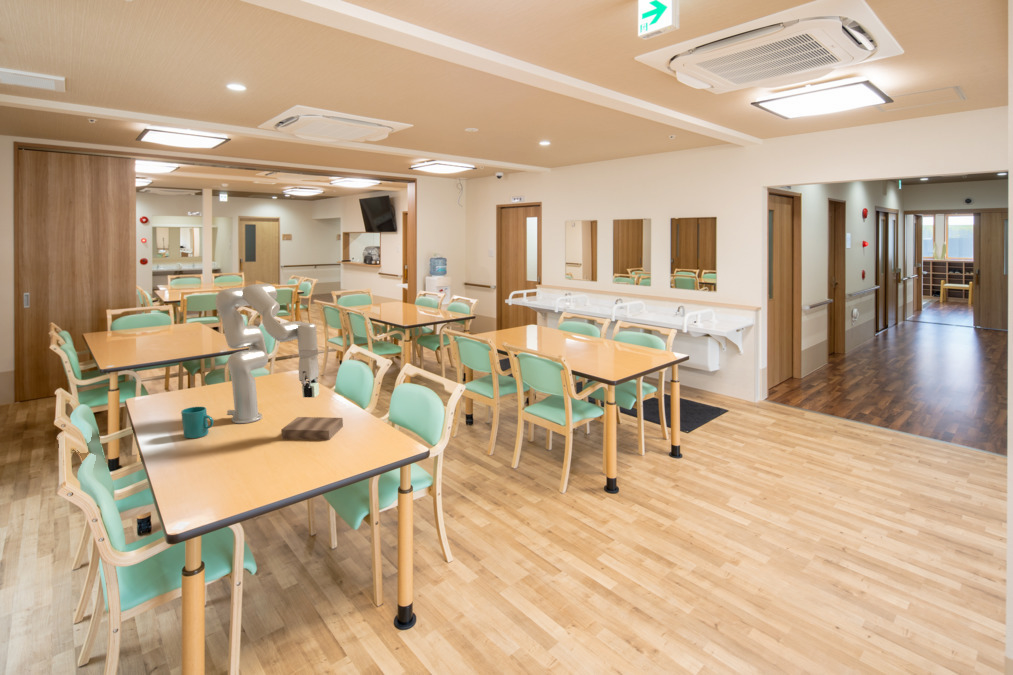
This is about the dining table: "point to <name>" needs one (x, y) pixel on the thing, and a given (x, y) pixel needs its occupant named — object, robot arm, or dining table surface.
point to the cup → (195, 422)
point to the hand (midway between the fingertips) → (311, 394)
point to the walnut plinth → (312, 428)
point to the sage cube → (313, 389)
